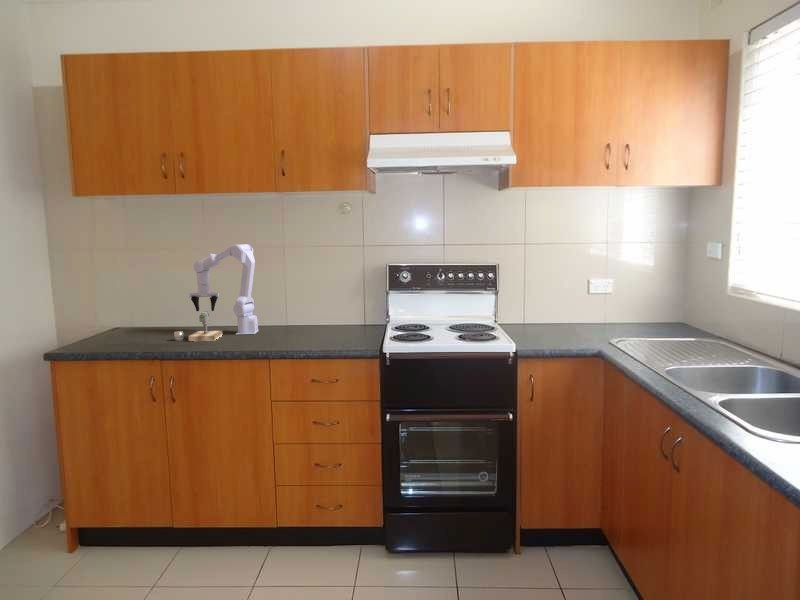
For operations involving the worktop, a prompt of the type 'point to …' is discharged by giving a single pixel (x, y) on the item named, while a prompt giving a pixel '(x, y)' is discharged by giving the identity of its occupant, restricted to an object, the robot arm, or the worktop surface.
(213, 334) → the stand
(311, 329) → the worktop surface
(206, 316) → the mechanical component
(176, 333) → the steel bushing
